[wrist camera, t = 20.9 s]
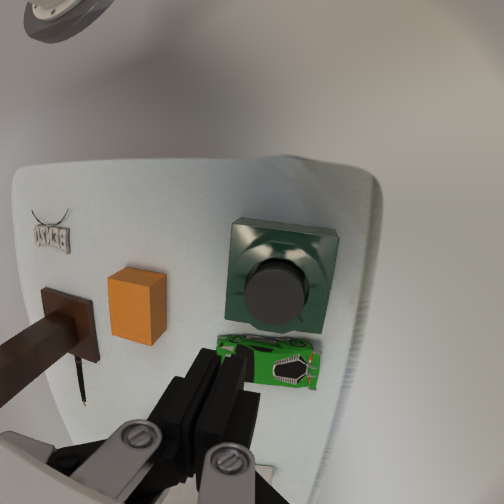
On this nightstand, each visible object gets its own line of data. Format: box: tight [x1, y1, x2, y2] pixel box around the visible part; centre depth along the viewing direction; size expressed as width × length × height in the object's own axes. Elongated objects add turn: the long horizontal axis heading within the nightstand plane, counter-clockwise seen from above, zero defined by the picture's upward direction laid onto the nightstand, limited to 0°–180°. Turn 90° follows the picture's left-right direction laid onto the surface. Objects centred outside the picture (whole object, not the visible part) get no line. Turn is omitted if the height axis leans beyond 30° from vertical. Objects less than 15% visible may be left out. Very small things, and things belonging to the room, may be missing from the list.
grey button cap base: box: [225, 217, 339, 334], centre depth 25 cm, size 8×8×5 cm
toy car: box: [216, 335, 322, 391], centre depth 28 cm, size 10×5×2 cm, turn 90°
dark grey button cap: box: [244, 261, 305, 325], centre depth 22 cm, size 4×4×2 cm
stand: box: [0, 288, 100, 408], centre depth 25 cm, size 8×8×17 cm
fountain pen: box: [75, 356, 86, 405], centre depth 36 cm, size 14×1×2 cm
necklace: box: [31, 209, 70, 254], centre depth 30 cm, size 7×1×5 cm
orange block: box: [107, 267, 166, 346], centre depth 29 cm, size 6×4×4 cm
